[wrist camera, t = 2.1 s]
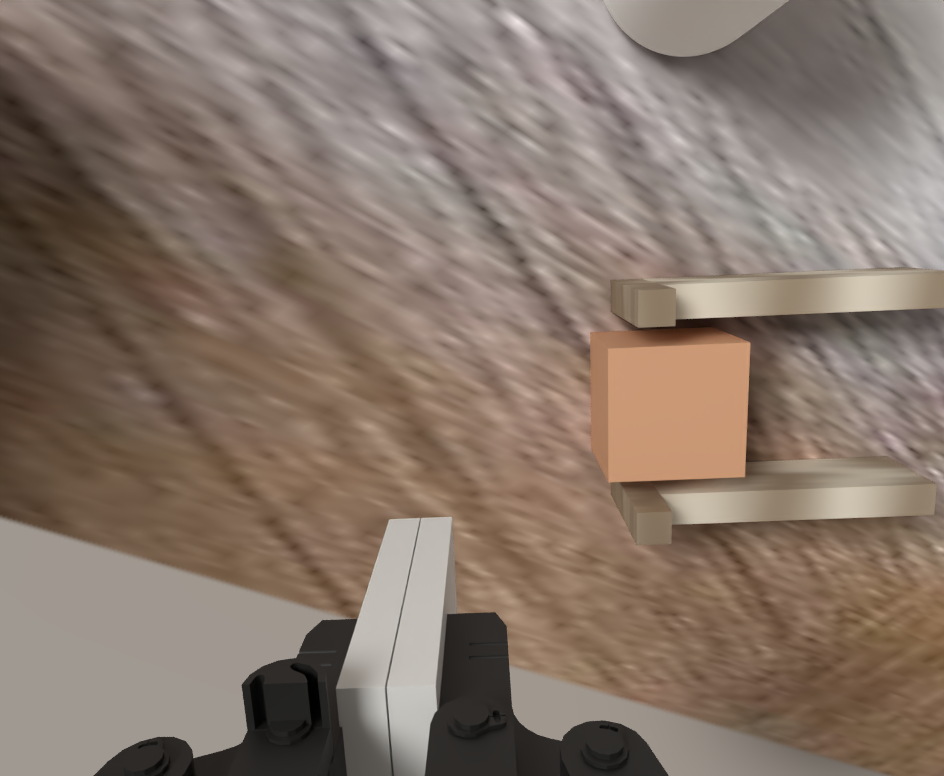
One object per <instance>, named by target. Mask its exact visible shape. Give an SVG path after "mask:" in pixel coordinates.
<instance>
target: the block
mask: <svg viewBox="0 0 944 776" xmlns="http://www.w3.org/2000/svg"><path fill="white" fill-rule="evenodd" d="M590 353H591V449H592V451H593V453H594V455H595V457H596V459H597V461H598V463H599V465H600V467H601V469H602V471H603V473H604V475H605V477H606V479H607V480H608V482H633V481H658V480H683V479H709V478H734V477H745V463H746V439H747V415H748V391H749V367H750V342H748V341H746V340H743V339H741V338H738V337H736V336H733V335H731V334H729V333H726V332H724V331H721V330H719V329H716V328H714V327H703V328H680V329H658V330H635V331H612V332H590Z"/></svg>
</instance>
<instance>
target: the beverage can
mask: <svg viewBox="0 0 944 776" xmlns="http://www.w3.org/2000/svg"><path fill="white" fill-rule="evenodd" d="M788 1H789V0H604V3H605V5H606V7H607V9H608V11H609V13H610V14H611V16H612V18H613V19H614V21H615V22H616V23H617V24H618V26H619V27H620V28H621V29H622V30H623V31H624V32H625V33H626V34H627V35H628V36H629V37H630V38H631V39H633V40H634V41H636V42H637V43H638V44H640V45H642V46H644V47H645V48H647V49H650V50H652V51H654V52H657V53H661V54H664V55H669V56H678V57H690V56H698V55H703V54H707V53H710V52H713V51H716V50H718V49H721V48H723V47H725V46H727V45H729V44H730V43H732V42H734V41H735V40H737V39H738V38H739V37H741V36H742V35H743V34H745V33H746V32H747V31H749V30H750V29H752V28H753V27H754V26H756V25H757V24H758V23H760V22H761V21H762V20H764V19H765V18H766V17H768V16H769V15H770V14H772V13H773V12H774V11H776V10H777V9H778V8H780V7H781V6H782V5H784V4H785V3H786V2H788Z"/></svg>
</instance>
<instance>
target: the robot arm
mask: <svg viewBox="0 0 944 776" xmlns="http://www.w3.org/2000/svg"><path fill="white" fill-rule="evenodd" d="M242 691H243V699H244V705H245V713H246V722H247V729H248V731H247V733H246V735H245V738H244V740H243V742H242V743H241V744H239V745H237V746H235V747H232V748H229V749H226V750H223V751H220V752H216V753H213V754H208V755H204V756H201V757H197V758H193V753H192V749H191V748H190V746H189V745H188V744H187V742H186V741H183V740H181V739H178V738H175V737H156V738H153V739H149V740H145V741H141V742H139V743H136V744H134V745H132V746H130V747H128V748H126V749H124V750H122V751H121V752H120V753H118V754H117V755H116V756H115V757H113V758H112V759H111V760H109V761H108V762H107V763H106V764H105V765H104V766H103V767H102V768H101V769H100V770H99V771H98V772H97V773H96V774H95V775H94V776H668V774H667V773H666V771H665V770H664V768H663V767H662V765H661V764H660V762H659V761H658V759H657V758H656V756H655V755H654V753H653V752H652V750H651V749H650V747H649V746H648V744H647V743H646V742H645V741H644V740H643V739H642V738H641V737H640V736H639V735H638V734H637V732H635V731H633V730H632V729H630V728H627V727H625V726H624V725H622V724H618V723H613V722H609V721H590V722H585V723H583V724H580V725H577V726H575V727H573V728H572V729H571V730H570V731H568V732H567V733H566V734H565V735H564V737H563V739H562V741H559V740H554V739H550V738H546V737H543V736H540V735H537V734H535V733H533V732H531V731H530V730H528V729H526V728H525V727H524V726H523V725H522V724H521V723H519V721H518V720H517V718H516V717H515V715H514V713H513V709H512V702H511V687H510V672H509V658H508V642H507V627H506V625H505V624H504V622H503V621H502V620H501V619H500V617H499V616H498V615H497V614H496V613H495V612H494V613H465V614H457V597H456V579H455V561H454V542H453V524H452V517H437V518H421V522H420V518H410V519H389V522H388V525H387V528H386V532H385V535H384V538H383V541H382V544H381V547H380V551H379V554H378V557H377V560H376V563H375V566H374V569H373V573H372V576H371V579H370V582H369V585H368V588H367V592H366V595H365V598H364V601H363V604H362V607H361V611H360V614H359V617H358V619H345V620H322V621H321V622H320V623H319V624H318V625H317V626H316V627H314V628H313V629H312V630H311V631H310V632H309V633H308V634H307V635H306V637H305V639H304V641H303V644H302V646H301V648H300V651H299V654H298V655H297V658H294V659H286V660H280V661H276V662H273V663H271V664H268V665H265V666H263V667H261V668H260V669H258V670H257V671H255V672H254V673H252V674H250V675H249V677H248V678H247V679H246V680H245V681H244V683H243V684H242Z"/></svg>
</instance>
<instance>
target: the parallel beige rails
mask: <svg viewBox="0 0 944 776" xmlns="http://www.w3.org/2000/svg"><path fill="white" fill-rule="evenodd" d="M929 308H944V271H942V270H930V269H918V268H906V267H899V268H876V269H854V270H831V271H809V272H786V273H764V274H741V275H719V276H696V277H674V278H651V279H629V280H611V312H613V313H615V314H616V315H618V316H620V317H621V318H623V319H625V320H626V321H628V322H629V323H631V324H633V325H634V326H636V327H638V328H642V327H665V326H675V319H697V318H720V317H744V316H767V315H790V314H813V313H836V312H859V311H882V310H905V309H929ZM936 491H937V484H936V483H935V482H933V481H931V480H929V479H927V478H926V477H924V476H922V475H920V474H918V473H916V472H915V471H913V470H911V469H909V468H907V467H906V466H904V465H902V464H900V463H898V462H896V461H895V460H893V459H891V458H889V457H887V456H883V457H857V458H832V459H806V460H781V461H755V462H746V463H745V477H734V478H709V479H683V480H658V481H633V482H611V495H612V497H613V499H614V501H615V503H616V505H617V507H618V509H619V511H620V513H621V515H622V517H623V519H624V521H625V523H626V525H627V527H628V529H629V531H630V533H631V535H632V537H633V539H634V541H635V543H636V545H659V544H671V536H672V525H678V524H705V523H731V522H758V521H785V520H811V519H838V518H865V517H891V516H918V515H934V510H935V500H936Z"/></svg>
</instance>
